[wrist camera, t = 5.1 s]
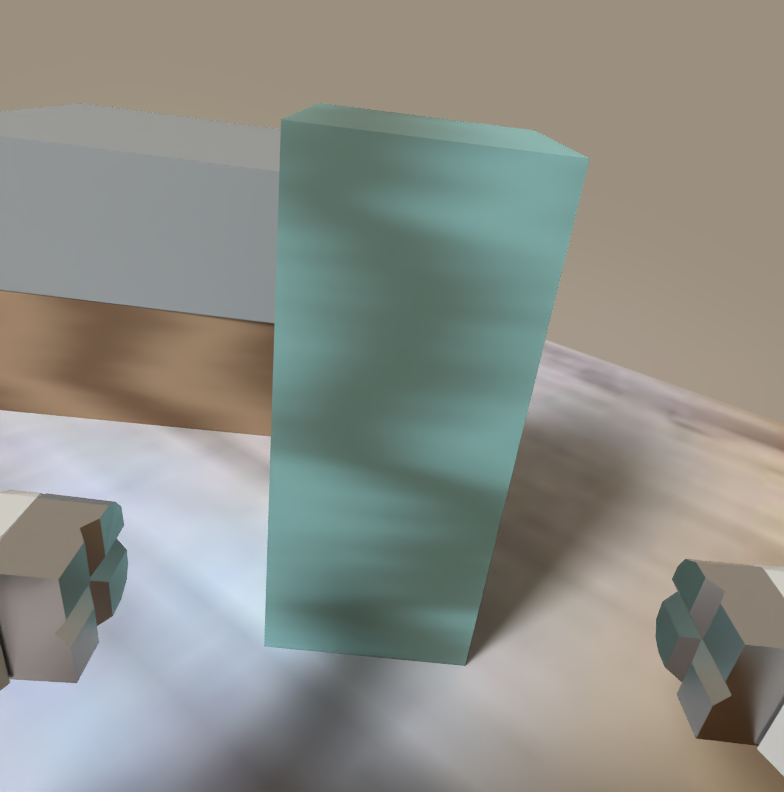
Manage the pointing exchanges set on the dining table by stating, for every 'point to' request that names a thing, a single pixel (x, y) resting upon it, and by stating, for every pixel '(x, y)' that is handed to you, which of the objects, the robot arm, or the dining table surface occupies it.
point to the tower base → (135, 364)
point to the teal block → (403, 369)
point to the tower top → (140, 209)
